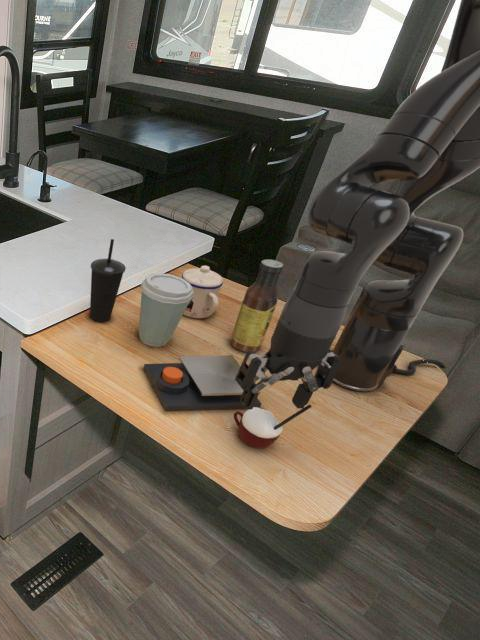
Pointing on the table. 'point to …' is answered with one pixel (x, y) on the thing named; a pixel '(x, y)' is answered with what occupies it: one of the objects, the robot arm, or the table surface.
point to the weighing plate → (213, 374)
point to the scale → (187, 392)
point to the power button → (172, 375)
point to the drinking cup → (105, 286)
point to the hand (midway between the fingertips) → (271, 405)
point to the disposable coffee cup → (162, 307)
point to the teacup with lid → (202, 291)
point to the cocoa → (261, 426)
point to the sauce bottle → (257, 308)
